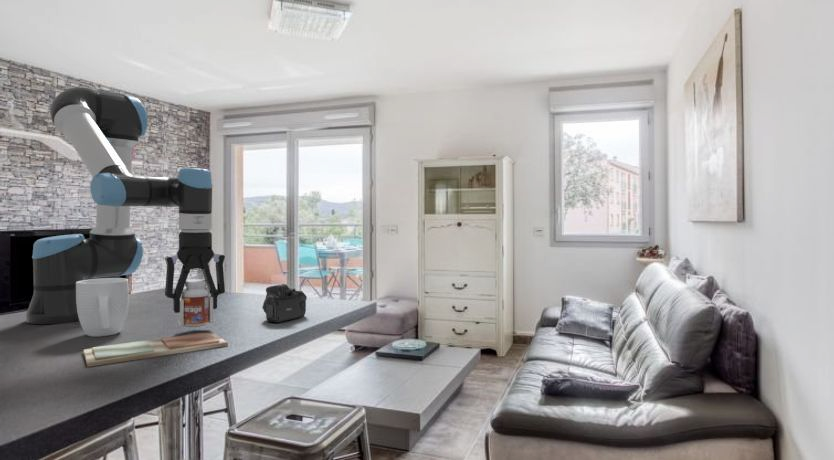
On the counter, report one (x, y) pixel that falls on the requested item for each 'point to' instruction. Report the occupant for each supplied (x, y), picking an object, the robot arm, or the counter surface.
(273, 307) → the camera
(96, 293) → the mug
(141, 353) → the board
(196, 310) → the pill bottle
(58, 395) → the counter surface
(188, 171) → the robot arm
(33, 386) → the counter surface
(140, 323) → the counter surface
